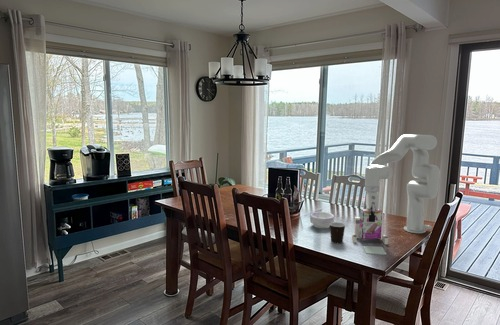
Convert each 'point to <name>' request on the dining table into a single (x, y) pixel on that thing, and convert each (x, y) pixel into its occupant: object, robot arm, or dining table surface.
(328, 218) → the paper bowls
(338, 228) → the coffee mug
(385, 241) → the dispenser
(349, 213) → the dining table surface
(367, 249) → the pad
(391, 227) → the dining table surface
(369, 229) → the candy bar box
